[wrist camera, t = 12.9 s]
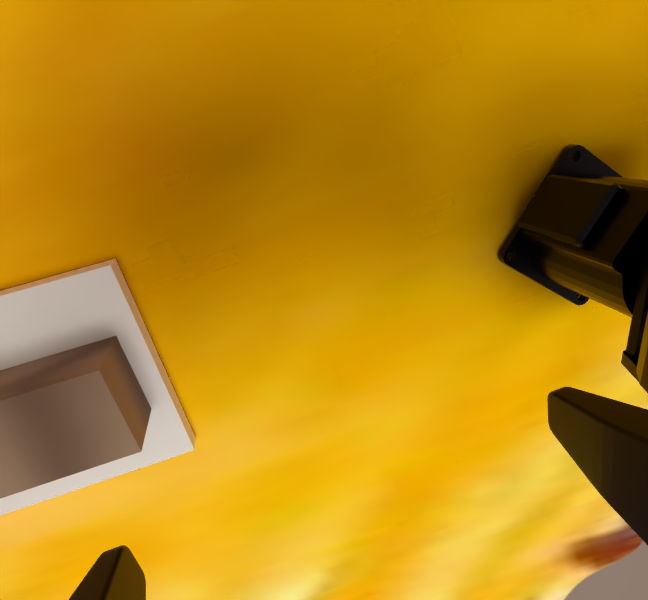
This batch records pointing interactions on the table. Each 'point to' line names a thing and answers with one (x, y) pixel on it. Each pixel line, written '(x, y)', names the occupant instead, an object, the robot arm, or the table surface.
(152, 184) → the table surface
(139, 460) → the ridge base plate
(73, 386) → the walnut ridge
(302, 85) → the table surface
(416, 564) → the table surface
